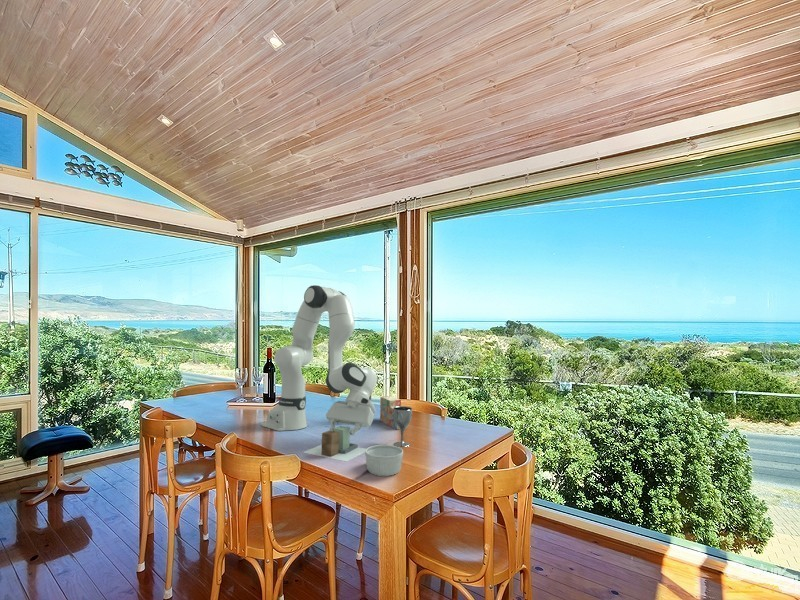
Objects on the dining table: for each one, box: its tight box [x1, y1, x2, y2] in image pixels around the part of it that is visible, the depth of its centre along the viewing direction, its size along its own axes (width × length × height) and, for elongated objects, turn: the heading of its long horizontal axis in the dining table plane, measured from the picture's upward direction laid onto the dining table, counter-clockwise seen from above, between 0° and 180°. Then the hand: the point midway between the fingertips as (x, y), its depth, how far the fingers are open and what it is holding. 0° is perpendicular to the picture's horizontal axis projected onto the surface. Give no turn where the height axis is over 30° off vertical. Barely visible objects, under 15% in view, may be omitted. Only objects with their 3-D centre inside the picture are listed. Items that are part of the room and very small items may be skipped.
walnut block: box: [321, 429, 339, 457], centre depth 153 cm, size 4×4×8 cm
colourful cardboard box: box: [379, 395, 409, 430], centre depth 204 cm, size 21×6×12 cm, turn 25°
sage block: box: [334, 425, 351, 450], centre depth 159 cm, size 4×4×8 cm
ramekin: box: [364, 444, 404, 477], centre depth 140 cm, size 13×13×7 cm
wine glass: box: [393, 405, 413, 448], centre depth 171 cm, size 8×8×15 cm
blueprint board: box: [302, 442, 367, 462], centre depth 156 cm, size 20×16×2 cm
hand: (341, 432), depth 159 cm, fingers open, 8 cm apart
